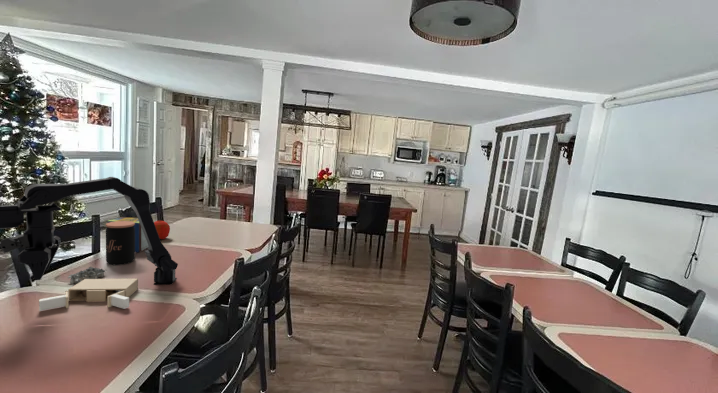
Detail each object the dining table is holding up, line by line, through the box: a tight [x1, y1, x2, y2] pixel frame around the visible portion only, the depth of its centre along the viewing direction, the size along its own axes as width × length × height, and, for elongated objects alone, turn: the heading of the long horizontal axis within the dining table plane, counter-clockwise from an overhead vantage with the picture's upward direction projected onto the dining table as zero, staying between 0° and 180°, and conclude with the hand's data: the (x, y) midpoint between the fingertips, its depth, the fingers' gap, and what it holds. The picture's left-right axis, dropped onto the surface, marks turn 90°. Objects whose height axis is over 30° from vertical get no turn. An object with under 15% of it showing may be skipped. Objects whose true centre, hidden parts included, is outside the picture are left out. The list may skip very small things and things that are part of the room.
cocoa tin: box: [82, 290, 87, 297], centre depth 111 cm, size 4×4×3 cm
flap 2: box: [106, 290, 130, 310], centre depth 106 cm, size 6×7×4 cm
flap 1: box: [38, 290, 70, 312], centre depth 101 cm, size 6×7×4 cm
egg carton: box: [67, 266, 107, 285], centre depth 124 cm, size 11×8×4 cm
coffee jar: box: [105, 221, 136, 266], centre depth 144 cm, size 11×11×18 cm
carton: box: [67, 278, 139, 303], centre depth 112 cm, size 17×10×4 cm, turn 103°
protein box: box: [106, 216, 148, 253], centre depth 162 cm, size 10×15×16 cm
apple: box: [154, 220, 171, 240], centre depth 184 cm, size 10×10×12 cm
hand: (42, 274), depth 98 cm, fingers open, 9 cm apart
